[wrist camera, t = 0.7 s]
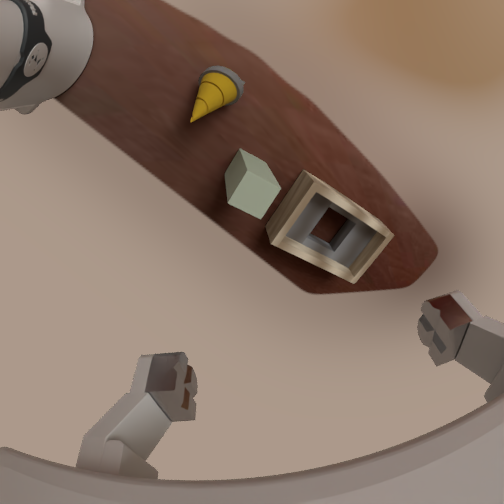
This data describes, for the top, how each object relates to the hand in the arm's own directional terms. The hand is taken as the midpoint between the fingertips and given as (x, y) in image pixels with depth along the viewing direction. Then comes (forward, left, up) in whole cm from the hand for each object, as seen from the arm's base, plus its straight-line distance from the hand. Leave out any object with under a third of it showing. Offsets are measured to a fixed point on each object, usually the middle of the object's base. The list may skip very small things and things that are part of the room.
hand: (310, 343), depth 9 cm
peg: (+3, -3, -32) cm, 33 cm away
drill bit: (-5, +4, -33) cm, 33 cm away
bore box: (+18, -4, -32) cm, 37 cm away
